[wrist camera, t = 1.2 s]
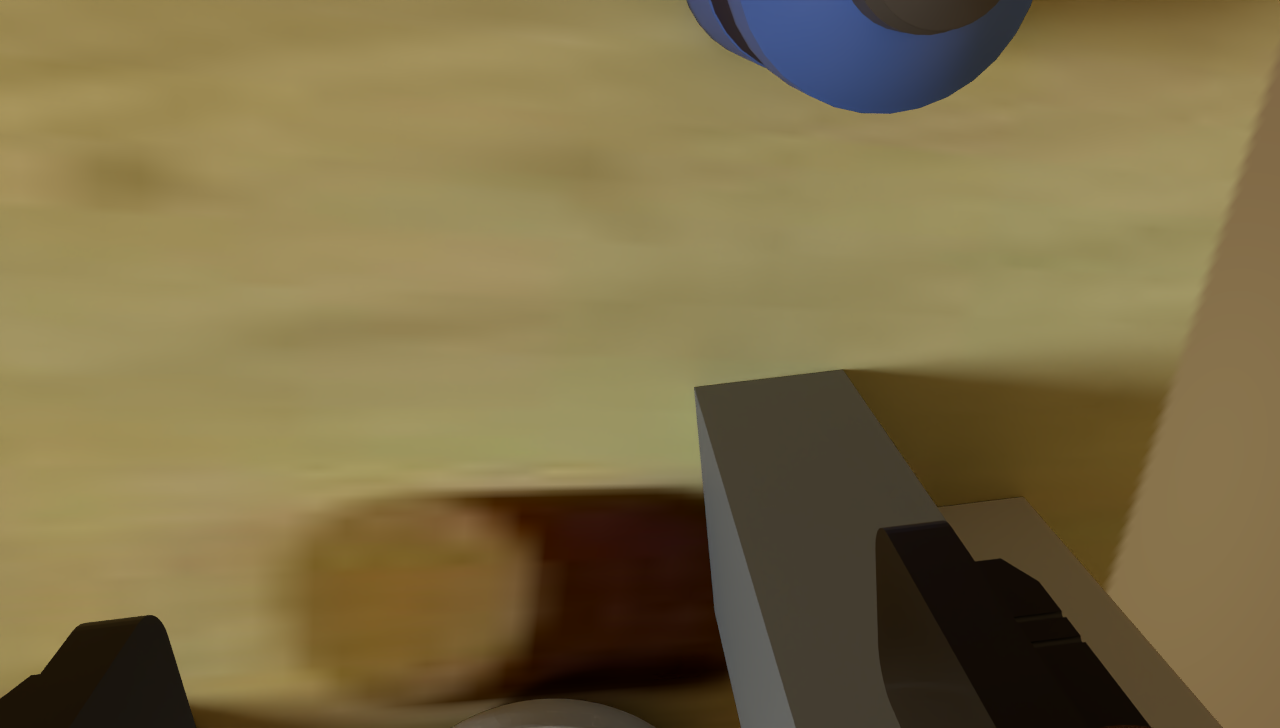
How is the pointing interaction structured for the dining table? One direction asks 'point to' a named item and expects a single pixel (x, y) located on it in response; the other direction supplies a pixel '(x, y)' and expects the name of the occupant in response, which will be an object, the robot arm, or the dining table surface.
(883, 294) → the dining table surface
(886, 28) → the water bottle
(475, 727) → the serving bowl
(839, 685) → the stand
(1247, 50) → the dining table surface
